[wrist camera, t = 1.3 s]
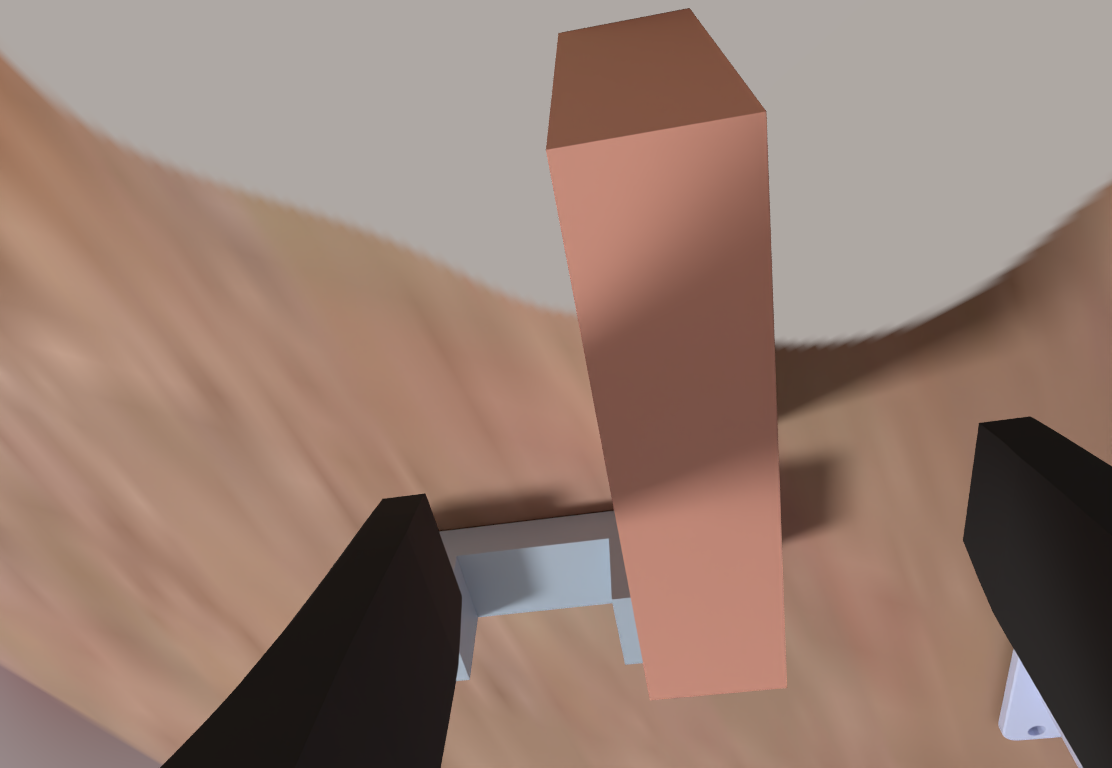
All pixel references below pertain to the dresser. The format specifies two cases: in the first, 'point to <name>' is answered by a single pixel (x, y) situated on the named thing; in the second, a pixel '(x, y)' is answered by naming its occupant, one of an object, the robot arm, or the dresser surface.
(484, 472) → the dresser surface
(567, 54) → the pink rectangular block
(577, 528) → the grey block
